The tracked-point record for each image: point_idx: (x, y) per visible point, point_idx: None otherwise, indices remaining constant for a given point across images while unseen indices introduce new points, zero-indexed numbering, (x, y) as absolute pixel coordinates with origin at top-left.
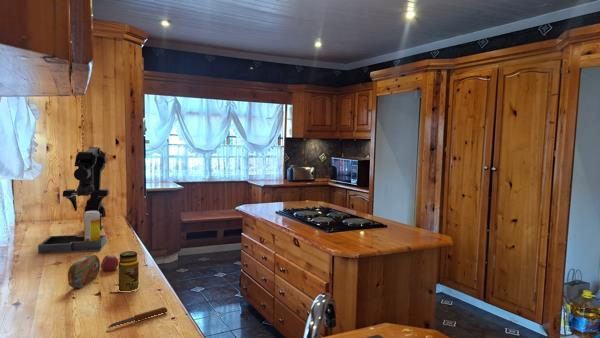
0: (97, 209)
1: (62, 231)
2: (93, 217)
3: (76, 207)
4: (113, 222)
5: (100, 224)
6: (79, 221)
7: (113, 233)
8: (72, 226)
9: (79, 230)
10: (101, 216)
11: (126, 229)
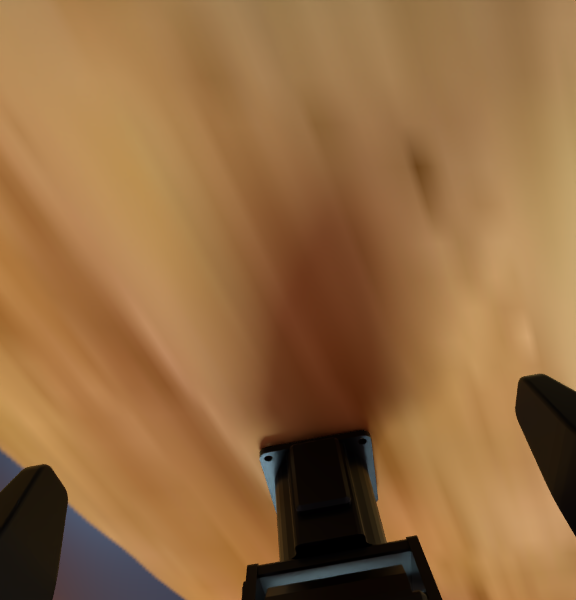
0: (17, 487)
1: None
2: None
3: (562, 475)
4: None
5: (277, 500)
6: (492, 590)
7: (78, 355)
8: (510, 501)
9: (428, 418)
10: (264, 572)
11: None
